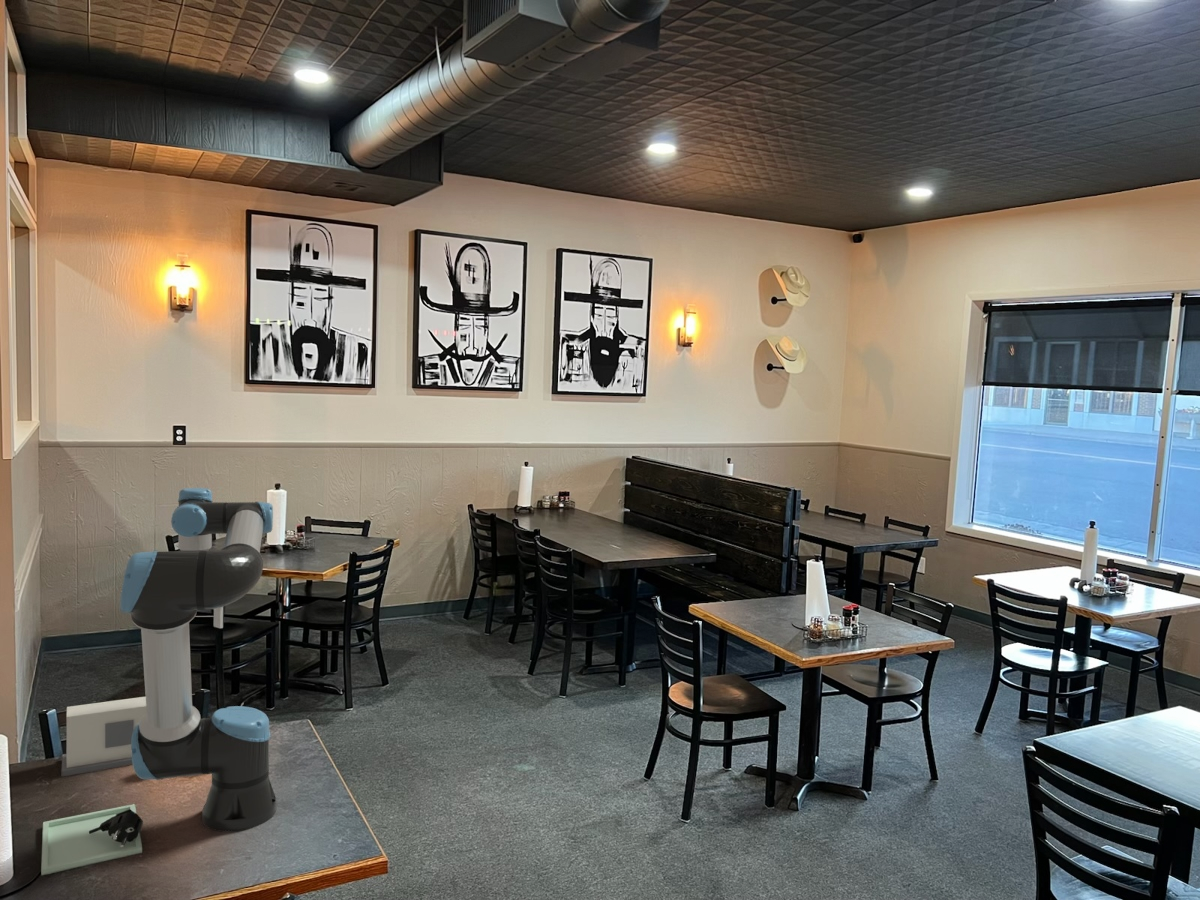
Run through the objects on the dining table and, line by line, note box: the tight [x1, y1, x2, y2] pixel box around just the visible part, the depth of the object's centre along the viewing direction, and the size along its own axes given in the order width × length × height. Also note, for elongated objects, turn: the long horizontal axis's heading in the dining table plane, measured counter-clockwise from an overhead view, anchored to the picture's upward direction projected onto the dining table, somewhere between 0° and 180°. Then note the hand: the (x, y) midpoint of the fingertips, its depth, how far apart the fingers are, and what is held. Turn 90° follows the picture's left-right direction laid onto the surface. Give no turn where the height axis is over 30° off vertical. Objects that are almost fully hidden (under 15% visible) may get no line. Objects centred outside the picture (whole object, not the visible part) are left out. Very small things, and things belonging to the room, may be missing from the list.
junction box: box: [61, 696, 147, 777], centre depth 212 cm, size 24×10×14 cm, turn 121°
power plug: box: [89, 809, 144, 848], centre depth 174 cm, size 6×8×12 cm
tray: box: [40, 803, 143, 877], centre depth 175 cm, size 20×17×2 cm
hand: (194, 633), depth 214 cm, fingers open, 13 cm apart
